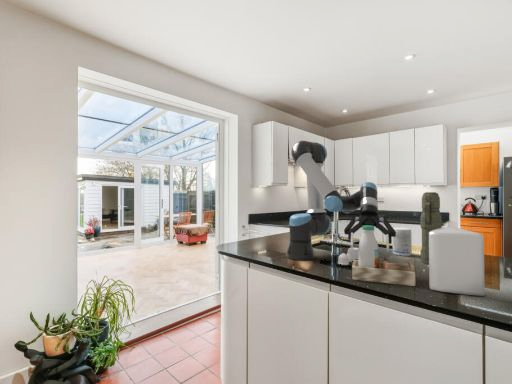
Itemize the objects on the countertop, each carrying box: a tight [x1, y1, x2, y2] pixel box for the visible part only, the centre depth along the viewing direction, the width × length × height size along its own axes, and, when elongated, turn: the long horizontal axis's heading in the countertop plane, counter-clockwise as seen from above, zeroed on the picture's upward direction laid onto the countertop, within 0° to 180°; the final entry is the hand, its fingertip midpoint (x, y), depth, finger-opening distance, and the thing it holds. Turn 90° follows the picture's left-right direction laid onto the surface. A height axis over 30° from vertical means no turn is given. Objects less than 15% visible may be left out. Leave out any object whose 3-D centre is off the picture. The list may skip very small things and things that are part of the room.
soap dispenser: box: [428, 226, 486, 297], centre depth 98 cm, size 15×14×22 cm
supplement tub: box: [392, 227, 413, 257], centre depth 154 cm, size 10×10×15 cm
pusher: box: [383, 255, 389, 270], centre depth 109 cm, size 2×10×8 cm, turn 158°
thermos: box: [420, 191, 443, 266], centre depth 134 cm, size 9×12×35 cm
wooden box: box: [351, 259, 416, 287], centre depth 110 cm, size 22×13×7 cm, turn 68°
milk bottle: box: [358, 225, 380, 269], centre depth 112 cm, size 8×8×20 cm
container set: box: [337, 247, 359, 266], centre depth 139 cm, size 20×5×6 cm, turn 140°
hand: (369, 248), depth 110 cm, fingers open, 13 cm apart
